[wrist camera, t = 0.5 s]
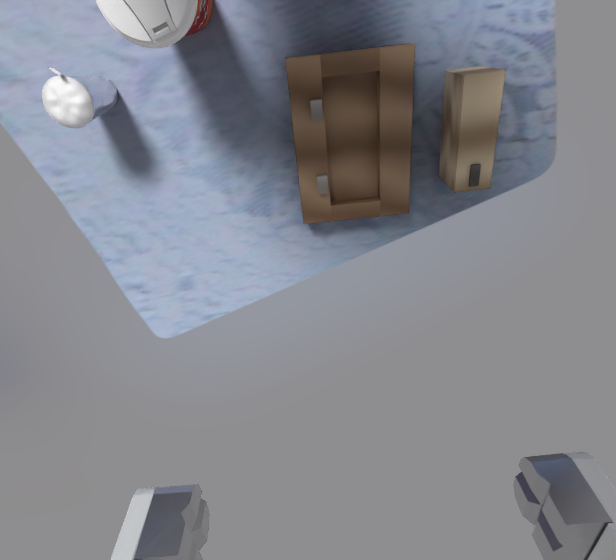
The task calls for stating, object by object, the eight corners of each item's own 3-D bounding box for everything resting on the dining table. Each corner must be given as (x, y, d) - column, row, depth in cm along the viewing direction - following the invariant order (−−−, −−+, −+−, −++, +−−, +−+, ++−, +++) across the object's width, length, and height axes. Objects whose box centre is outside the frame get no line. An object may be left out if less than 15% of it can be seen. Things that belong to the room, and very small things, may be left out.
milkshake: (120, 63, 43) (77, 70, 34) (127, 116, 46) (88, 134, 37) (76, 58, 43) (22, 64, 34) (85, 112, 45) (37, 129, 37)
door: (445, 70, 44) (466, 75, 39) (481, 65, 44) (507, 70, 39) (438, 176, 51) (455, 193, 45) (470, 172, 51) (491, 189, 45)
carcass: (285, 57, 43) (285, 59, 39) (406, 43, 43) (417, 44, 39) (303, 213, 52) (303, 227, 49) (402, 203, 52) (410, 216, 48)
